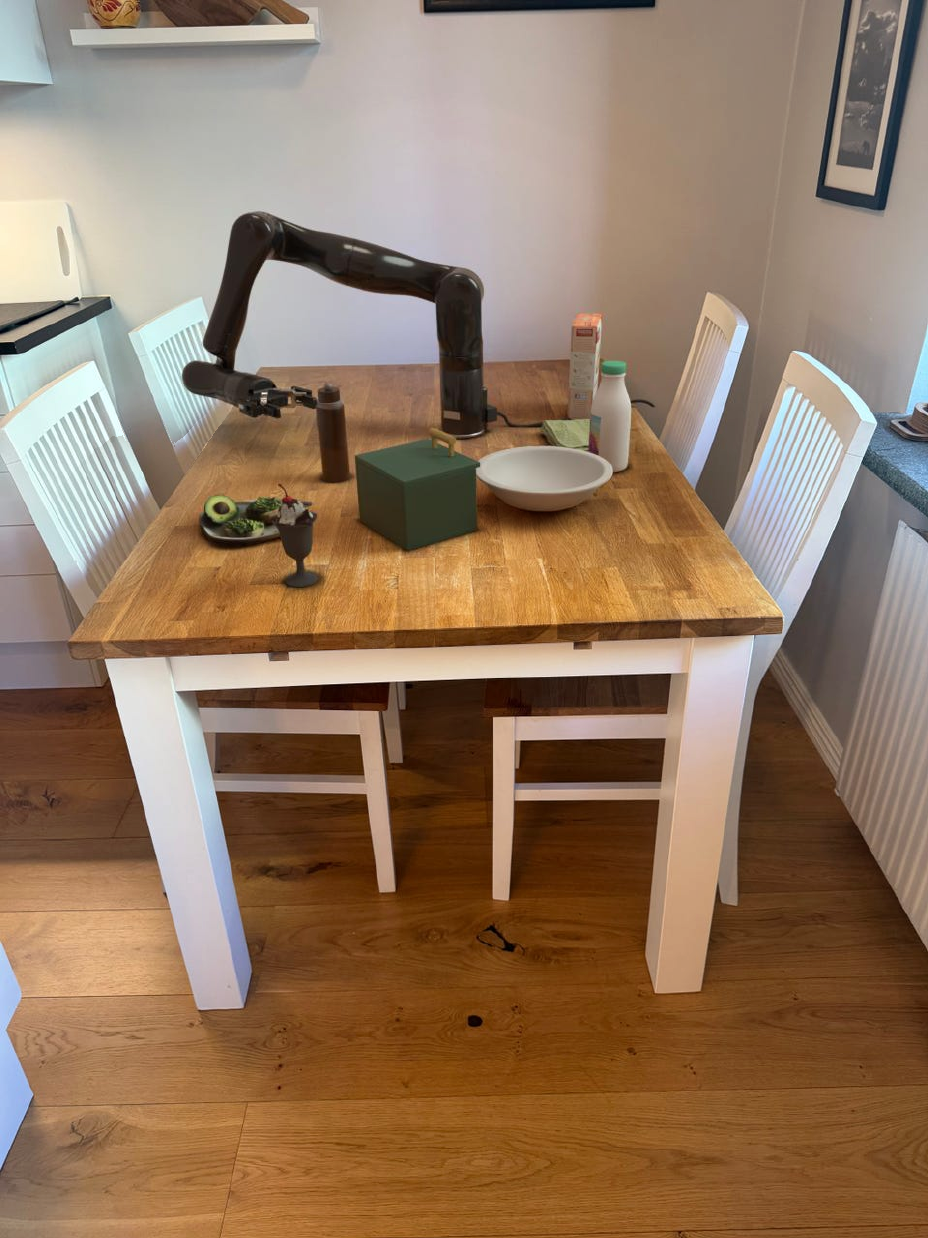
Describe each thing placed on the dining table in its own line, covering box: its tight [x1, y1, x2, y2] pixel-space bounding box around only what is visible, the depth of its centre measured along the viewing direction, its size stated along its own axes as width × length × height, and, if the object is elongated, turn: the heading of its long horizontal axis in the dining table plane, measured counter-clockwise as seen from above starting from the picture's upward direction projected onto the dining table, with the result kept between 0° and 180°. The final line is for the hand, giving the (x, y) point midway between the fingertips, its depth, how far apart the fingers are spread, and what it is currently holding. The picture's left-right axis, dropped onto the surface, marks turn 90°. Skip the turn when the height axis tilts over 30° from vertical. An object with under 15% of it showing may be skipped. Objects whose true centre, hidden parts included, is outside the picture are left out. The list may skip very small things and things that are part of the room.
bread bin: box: [354, 459, 478, 552], centre depth 153 cm, size 14×16×11 cm
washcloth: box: [540, 419, 590, 452], centre depth 191 cm, size 13×18×3 cm
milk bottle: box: [588, 360, 632, 473], centre depth 174 cm, size 8×8×20 cm
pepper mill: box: [315, 381, 351, 483], centre depth 172 cm, size 5×5×18 cm
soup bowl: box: [476, 445, 614, 512], centre depth 162 cm, size 24×24×7 cm
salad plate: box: [198, 494, 313, 548], centre depth 156 cm, size 19×18×5 cm
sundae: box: [271, 483, 319, 588], centre depth 134 cm, size 7×7×15 cm
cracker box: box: [566, 312, 603, 420], centre depth 206 cm, size 14×6×21 cm, turn 168°
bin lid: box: [354, 427, 480, 487], centre depth 149 cm, size 14×16×4 cm
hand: (297, 408), depth 177 cm, fingers open, 8 cm apart
